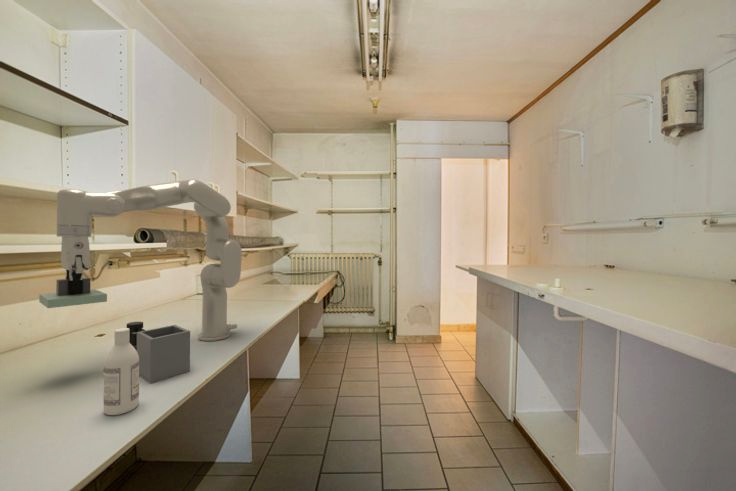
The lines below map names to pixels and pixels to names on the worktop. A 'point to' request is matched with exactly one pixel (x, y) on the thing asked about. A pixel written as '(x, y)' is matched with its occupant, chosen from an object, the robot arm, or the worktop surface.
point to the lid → (65, 299)
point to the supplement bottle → (134, 332)
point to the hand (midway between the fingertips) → (74, 292)
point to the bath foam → (121, 375)
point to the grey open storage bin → (163, 352)
